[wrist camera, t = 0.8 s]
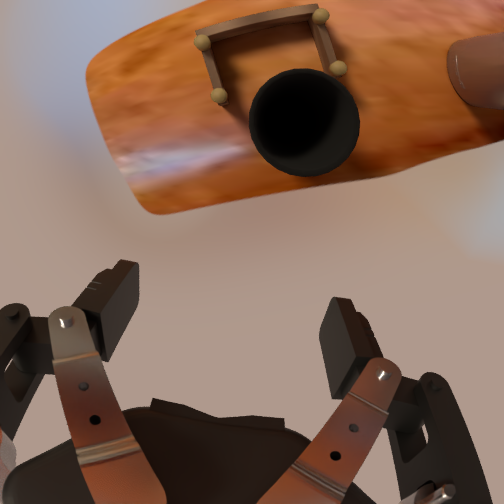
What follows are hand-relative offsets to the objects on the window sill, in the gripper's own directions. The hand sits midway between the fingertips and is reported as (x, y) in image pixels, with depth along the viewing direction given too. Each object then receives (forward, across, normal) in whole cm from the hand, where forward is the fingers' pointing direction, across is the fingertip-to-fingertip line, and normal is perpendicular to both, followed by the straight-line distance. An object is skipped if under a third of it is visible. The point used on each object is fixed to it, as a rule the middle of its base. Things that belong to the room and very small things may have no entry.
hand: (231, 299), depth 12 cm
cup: (+23, -3, -7) cm, 24 cm away
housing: (+23, 0, -14) cm, 27 cm away
